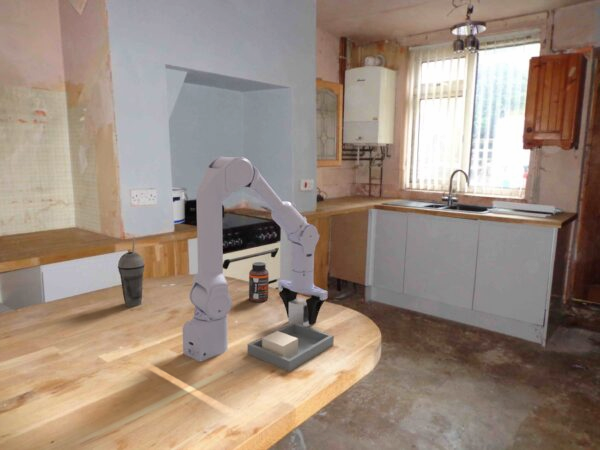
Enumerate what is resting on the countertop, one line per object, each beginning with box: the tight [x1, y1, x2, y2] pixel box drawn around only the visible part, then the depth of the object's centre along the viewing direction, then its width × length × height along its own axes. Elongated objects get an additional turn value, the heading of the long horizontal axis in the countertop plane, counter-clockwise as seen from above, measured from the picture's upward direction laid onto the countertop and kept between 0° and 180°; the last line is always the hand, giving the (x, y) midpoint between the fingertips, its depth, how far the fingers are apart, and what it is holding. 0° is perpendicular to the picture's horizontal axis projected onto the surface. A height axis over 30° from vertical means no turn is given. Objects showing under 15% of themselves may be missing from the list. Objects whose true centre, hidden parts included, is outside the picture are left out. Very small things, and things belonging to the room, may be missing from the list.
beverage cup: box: [117, 236, 146, 308], centre depth 123 cm, size 7×7×20 cm
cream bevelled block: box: [261, 330, 298, 359], centre depth 93 cm, size 5×6×4 cm
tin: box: [287, 296, 312, 328], centre depth 110 cm, size 5×5×7 cm
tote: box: [247, 322, 335, 373], centre depth 96 cm, size 16×12×3 cm
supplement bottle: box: [248, 261, 270, 303], centre depth 129 cm, size 6×6×11 cm
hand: (301, 320), depth 110 cm, fingers open, 6 cm apart
